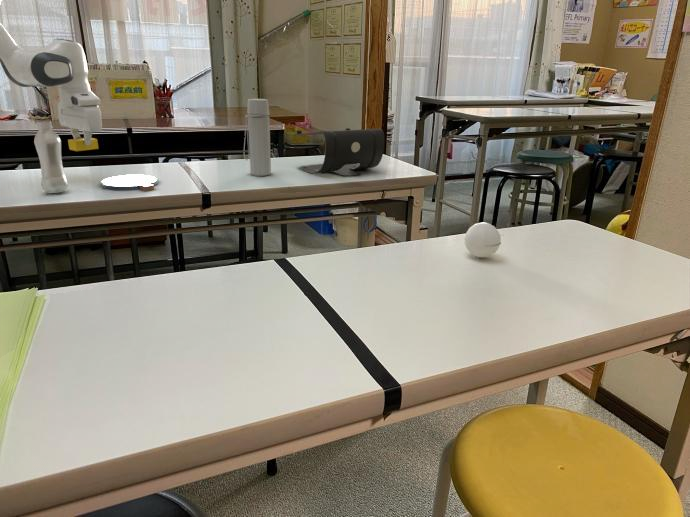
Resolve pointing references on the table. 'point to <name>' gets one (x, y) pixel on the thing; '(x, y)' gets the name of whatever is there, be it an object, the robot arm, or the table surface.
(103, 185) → the plate
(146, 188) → the crust
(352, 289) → the table surface
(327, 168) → the laptop stand
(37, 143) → the plastic bottle
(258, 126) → the water bottle
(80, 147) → the sponge
